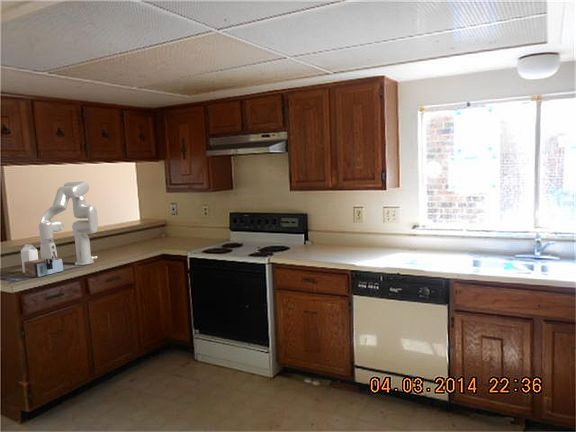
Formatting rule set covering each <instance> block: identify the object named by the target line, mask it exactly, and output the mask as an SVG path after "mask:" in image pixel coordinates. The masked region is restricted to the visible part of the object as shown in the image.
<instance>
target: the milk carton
mask: <svg viewBox="0 0 576 432" xmlns="http://www.w3.org/2000/svg"><path fill="white" fill-rule="evenodd" d="M20 259H21V268H22V273H23V274H25V268H24V262H27V261H32V260H37V259H39V254H38V249H37V248H36V247H34V245H33V244H26V243H25V244H24V246H23V247H22V249H21V250H20Z"/></svg>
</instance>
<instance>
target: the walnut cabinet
mask: <svg viewBox="0 0 576 432" xmlns="http://www.w3.org/2000/svg"><path fill="white" fill-rule="evenodd" d="M55 259H56V260H58V259H62V258H61V257H57V258H55ZM40 263H45V261H44V260H42V258H38V259H37V260H32V261H27V262H24V268H25V273H24V275H26V277H31V278H32V277H33V278H37V277H38V272H37V264H40ZM38 278H39V277H38Z"/></svg>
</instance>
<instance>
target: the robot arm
mask: <svg viewBox="0 0 576 432" xmlns="http://www.w3.org/2000/svg"><path fill="white" fill-rule="evenodd" d="M89 190H90V185H89V183H88V182H87V181H69V182H65V183H64V184H63V186H60V187H58V189H57V190H56V193H55V197H54V200H53V202H52V205H51V206H50V207H49V208H48V209H47V210H46V211H44V213H43V214H42V216H41V219H40V221H39V224H38V230H39V238H40V239H39V241H40V246H39V247H40V259H42V260H44V261H45V263H46V266H47V270H50V269H53V264H52V263H53V261H54V260H56V259H55V258H58V252H57V246H56V243H55V241H54V233H59V232H61V231H63V230H64V227H65V225H64V223H63V221H61V220H52V219H53V218H54V216H56V215H59V214H61V213H62V212H63V213H64V211H66V210H67V208H68V205H69V200H70V199H71V201H72V212H73V217H74V218H76V219H80V220H76V221H74V222H73V223H72V225H71V227H72V228H71V229H72V232H73V235H74V243H75V255H76V262H74V265H75V266H82V265H83V266H86V265H90V264H94V262H95V261H94V260H97V259H98V256H97V255H95V256H93V255H92V254H91V244H90V243H91V241H90V237H89V236H88V234H95V233H97V231H98V229H99V220H98V211H97V208H96V207H95V206H94V205H93V204H86V203H87V202H86V197H85V196H84V195H85V194H87V193H88V192H89ZM81 219H84V220H81ZM85 219H86V220H85Z"/></svg>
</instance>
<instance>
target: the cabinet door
mask: <svg viewBox="0 0 576 432" xmlns="http://www.w3.org/2000/svg"><path fill="white" fill-rule="evenodd" d="M52 264H53V269H50V270H47V266H46V263H40V264H37V272H38V278H39V277H43V276H47V275H51V274H56V273H61V272H64V264H63V259H62V258H61V259H58V260H54V261H53V263H52Z"/></svg>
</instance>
